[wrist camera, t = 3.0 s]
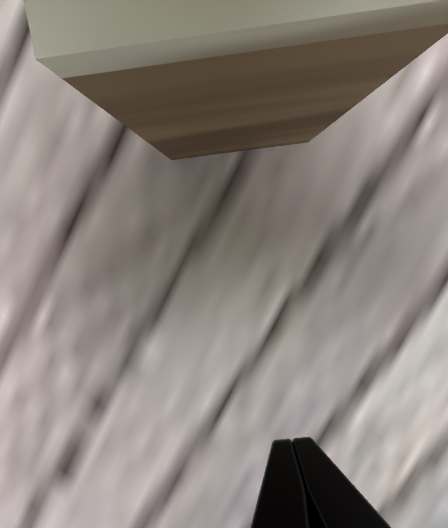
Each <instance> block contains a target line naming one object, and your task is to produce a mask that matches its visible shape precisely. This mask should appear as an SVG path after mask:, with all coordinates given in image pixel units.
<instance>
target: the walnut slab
mask: <svg viewBox="0 0 448 528" xmlns="http://www.w3.org/2000/svg"><path fill="white" fill-rule="evenodd" d="M24 4H25V9H26V14H27V19H28V24H29V28H30V33H31V38H32V43H33V48H34V53H35V58H36V60H38V61H39V62H40V63H42V64H43V65H44V66H46V67H47V68H49V69H50V70H51V71H53V72H54V73H55V74H57V75H58V76H59V77H61V78H62V79H63V80H65V81H66V82H67V83H69V84H70V85H71V86H73V87H74V88H75V89H77V90H78V91H80V92H81V93H82V94H84V95H85V96H86V97H88V98H89V99H90V100H92V101H93V102H94V103H96V104H97V105H98V106H100V107H101V108H102V109H104V110H105V111H106V112H108V113H109V114H111V115H112V116H113V117H115V118H116V119H117V120H119V121H120V122H121V123H123V124H124V125H125V126H127V127H128V128H129V129H131V130H132V131H133V132H135V133H136V134H137V135H139V136H140V137H142V138H143V139H144V140H146V141H147V142H148V143H150V144H151V145H152V146H154V147H155V148H156V149H158V150H159V151H160V152H162V153H163V154H164V155H166V156H167V157H169V158H170V159H171V160H174V159H182V158H190V157H197V156H205V155H213V154H220V153H228V152H236V151H243V150H251V149H259V148H266V147H274V146H282V145H289V144H297V143H305V142H309V141H310V140H311V139H313V138H314V137H315V136H316V135H318V134H319V133H320V132H322V131H323V130H324V129H325V128H327V127H328V126H329V125H331V124H332V123H333V122H334V121H336V120H337V119H338V118H340V117H341V116H342V115H343V114H345V113H346V112H347V111H349V110H350V109H351V108H352V107H354V106H355V105H356V104H358V103H359V102H360V101H361V100H363V99H364V98H365V97H366V96H368V95H369V94H370V93H372V92H373V91H374V90H375V89H377V88H378V87H379V86H381V85H382V84H383V83H384V82H386V81H387V80H388V79H390V78H391V77H392V76H393V75H395V74H396V73H397V72H399V71H400V70H401V69H402V68H404V67H405V66H406V65H408V64H409V63H410V62H411V61H413V60H414V59H415V58H417V57H418V56H419V55H420V54H422V53H423V52H424V51H425V50H427V49H428V48H429V47H431V46H432V45H433V44H434V43H436V42H437V41H438V40H440V39H441V38H442V37H443V36H445V35H446V34H447V33H448V0H24Z"/></svg>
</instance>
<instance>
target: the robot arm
mask: <svg viewBox="0 0 448 528" xmlns="http://www.w3.org/2000/svg"><path fill="white" fill-rule="evenodd" d="M251 528H391V527H390V526H389V525H388V523H387V522H386V521H385V520H384V519H383V518H382V517H381V516H380V514H379V513H378V512H377V511H376V510H375V509H374V508H373V507H372V505H371V504H370V503H369V502H368V501H367V500H366V499H365V498H364V496H363V495H362V494H361V493H360V492H359V491H358V490H357V489H356V487H355V486H354V485H353V484H352V483H351V482H350V481H349V480H348V478H347V477H346V476H345V475H344V474H343V473H342V472H341V471H340V469H339V468H338V467H337V466H336V465H335V464H334V463H333V462H332V460H331V459H330V458H329V457H328V456H327V455H326V454H325V453H324V451H323V450H322V449H321V448H320V447H319V446H318V445H317V444H316V442H315V441H314V440H313V439H312V438H310V437H302V438H294V439H293V440H292V441H291V440H290V439H281V440H274V441H273V443H272V446H271V450H270V454H269V458H268V462H267V465H266V469H265V473H264V477H263V481H262V485H261V489H260V493H259V497H258V501H257V505H256V508H255V512H254V516H253V520H252V524H251Z"/></svg>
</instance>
